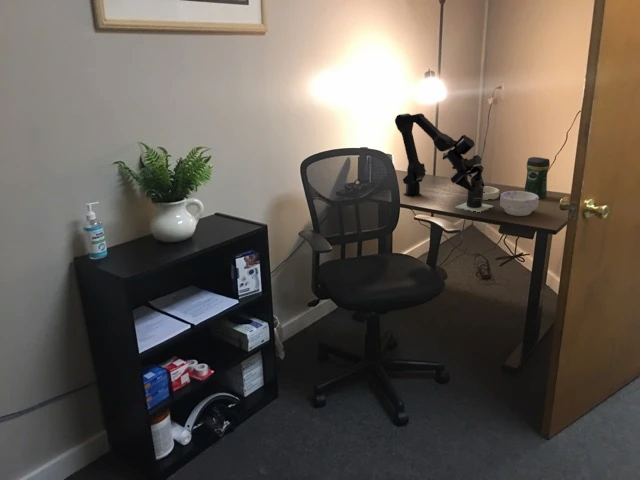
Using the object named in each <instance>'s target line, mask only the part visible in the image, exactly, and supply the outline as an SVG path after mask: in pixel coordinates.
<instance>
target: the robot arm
mask: <svg viewBox="0 0 640 480" xmlns="http://www.w3.org/2000/svg"><path fill="white" fill-rule="evenodd" d="M394 122H395V125H396V129H397V130H398V131H399V133H400V134H401V136H402V140H403V145H404V149H405V153H406V157H407V158H406V159H407V162H408V164H407V168H406V172H407V173H406V174H407V175H406V176H405V177H403V179H402V181H403V184H405V193H403V195H404V196H407V197H411V198H413V197H418V196H422V193H421V192H420V190H421V185H420V183H421V182H423V180H424V178H425V176H426V172H427V170H426V168H425V167H426V166H425V163H421V162H420V160H419V155H418V152H417V147H416V144H415V140H414V135H413V130H414V129H413V128H414V123H416V125H418V127H419V128H420V129H421V130H422V131H424V132H425V134H427V136H429V137H430V138H431V140H432V141H433V145H434V146H435V148H436V149H437V150H438V151H439V152H444V153H442V160H448V161H449V162H450V164H451V165H452V167H451V169H452V170H456V172H454V174H453V175H451V177H450V182H451V183H452V184H455V185H457V186H459V187H462V188H463V189H466V190H469V191H471V192H473V191H474V190H473V188H472V186H471V184H470V181H469V180H468V177H470V180H471V179H481V180H482V184H481V185H482V186H483V188H484V187H485V186H486V185H485V183H484V179H483V176H482V174H483V173H482V172H483V171H484V169H485V168H484V167H483V165H481V164H482V157H481V156H480V155H479V154H476V155H473V156H472V158H470V159H468V158H467V157H466V158H465V157H464V155H465V156H466V155H467V154H468V153H469V152H470V151H471V150H472V149H473V147H475V145H476V144H475V141H474V140H473V139H471V138H470V137H468V136H467V135H466V134H463V135H461V136H460V137H459V139H458V140H454V139H453V137H451V136H449V135H448V134H446V133H444V132H442V131H440V129H438V128H437V127H436V126H435V125H434V124H433V123H432V122H431V121H430V120H429V119H428V118H427V117H426V116H425V115H424V114H423V113H416V114H410V113H402V114H397V116H396V117H395V119H394ZM446 151H447V152H446Z"/></svg>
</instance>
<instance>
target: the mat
mask: <svg viewBox="0 0 640 480" xmlns="http://www.w3.org/2000/svg"><path fill="white" fill-rule="evenodd" d="M466 203H467V201H466V202H464V203H461V204H459V205H456V206H454V209H459V210H463V209H464V211H468V210H470V211H469V212H473V211H476V212H475V213H477V212H480V213H482V212H481V211H483V212H484V210H485V211H487V210H489V208H490V209H493V208H494V205H493V204H492V205H491V204H486V203H482V206H481V207H479V208H471V207H468V206H467V205H466Z"/></svg>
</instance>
